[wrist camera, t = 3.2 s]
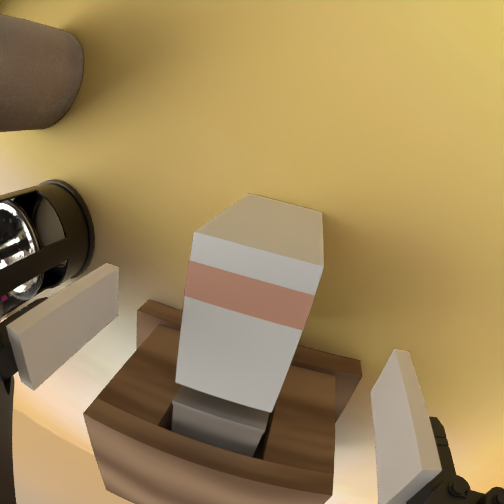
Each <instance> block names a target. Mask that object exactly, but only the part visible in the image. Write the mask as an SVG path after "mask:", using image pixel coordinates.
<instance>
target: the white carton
mask: <svg viewBox="0 0 504 504" xmlns="http://www.w3.org/2000/svg"><path fill="white" fill-rule="evenodd" d="M323 269H324V248H323V221H322V212H319V211H315V210H312V209H308V208H304V207H301V206H297V205H293V204H289V203H286V202H282V201H278V200H274V199H270V198H266V197H262V196H258V195H254V194H250V193H249V194H247V195H246V196H244V197H243V198H241V199H240V200H238V201H237V202H236V203H234V204H233V205H231V206H230V207H228V208H227V209H226V210H224V211H223V212H221V213H220V214H218V215H217V216H216V217H214V218H213V219H211V220H210V221H208V222H207V223H206V224H204V225H203V226H201V227H200V228H199V229H197V230H196V231H194V236H193V242H192V249H191V255H190V260H189V264H188V271H187V278H186V285H185V293H184V296H185V299H184V307H183V315H182V323H181V332H180V340H179V350H178V359H177V369H176V380H175V382H176V383H178V384H181V385H184V386H187V387H189V388H192V389H195V390H198V391H201V392H204V393H207V394H210V395H213V396H216V397H219V398H222V399H225V400H229V401H232V402H235V403H238V404H242V405H245V406H249V407H252V408H256V409H259V410H263V411H267V412H272V410H273V407H274V405H275V402H276V400H277V398H278V395H279V392H280V390H281V387H282V385H283V382H284V380H285V377H286V374H287V372H288V369H289V367H290V364H291V361H292V359H293V356H294V353H295V351H296V348H297V345H298V342H299V340H300V337H301V334H302V331H303V330H304V327H305V325H306V322H307V319H308V316H309V313H310V310H311V307H312V304H313V301H314V298H315V293H316V290H317V287H318V284H319V281H320V278H321V275H322V272H323Z"/></svg>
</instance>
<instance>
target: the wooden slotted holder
mask: <svg viewBox="0 0 504 504" xmlns="http://www.w3.org/2000/svg"><path fill="white" fill-rule="evenodd" d="M182 315H183V311H181V310H178V309H175V308H172V307H169V306H166V305H163V304H160V303H157V302H155V301H152V300H148V301H147V302H146V303H145V304H144V305H143V306H141V307H140V308H139V309H138V310H137V350H136V351H135V353H134V354H133V355H132V356H131V357H130V358H129V360H128V361H127V362H126V363H125V364H124V365H123V367H122V368H121V369H120V370H119V371H118V373H117V374H116V375H115V376H114V377H113V378H112V380H111V381H110V382H109V383H108V384H107V386H106V387H105V388H104V389H103V390H102V392H101V393H100V394H99V395H98V396H97V397H96V399H95V400H94V401H93V402H92V403H91V405H90V406H89V407H88V408H87V409H86V411H85V412H84V413H83V415H84V419H85V423H86V427H87V430H88V434H89V438H90V441H91V445H92V448H93V451H94V455H95V458H96V461H97V464H98V467H99V470H100V473H101V476H102V479H103V482H104V484H105V487H106V490H108V491H110V492H112V493H114V494H116V495H118V496H120V497H122V498H124V499H126V500H128V501H130V502H132V503H135V504H324V503H325V502H326V501H327V500H328V499H329V498H330V497H331V496H332V491H333V474H334V452H335V423H336V421H337V419H338V418H339V416H340V414H341V413H342V411H343V409H344V408H345V406H346V404H347V402H348V401H349V399H350V397H351V395H352V394H353V392H354V390H355V388H356V387H357V385H358V383H359V381H360V379H361V377H362V372H361V363H360V361H359V360H355V359H350V358H346V357H342V356H338V355H333V354H329V353H325V352H321V351H317V350H313V349H309V348H305V347H301V346H298V345H297V348H296V351H295V353H294V356H293V359H292V361H291V364H290V367H289V369H288V372H287V374H286V377H285V380H284V382H283V385H282V387H281V390H280V392H279V395H278V398H277V400H276V402H275V405H274V407H273V410H272V412H267V411H263V410H259V409H256V408H252V407H249V406H245V405H242V404H238V403H235V402H232V401H229V400H225V399H222V398H219V397H216V396H213V395H210V394H207V393H204V392H201V391H198V390H195V389H192V388H189V387H187V386H184V385H181V384H178V383H176V382H175V380H176V369H177V359H178V350H179V340H180V332H181V323H182Z"/></svg>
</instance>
